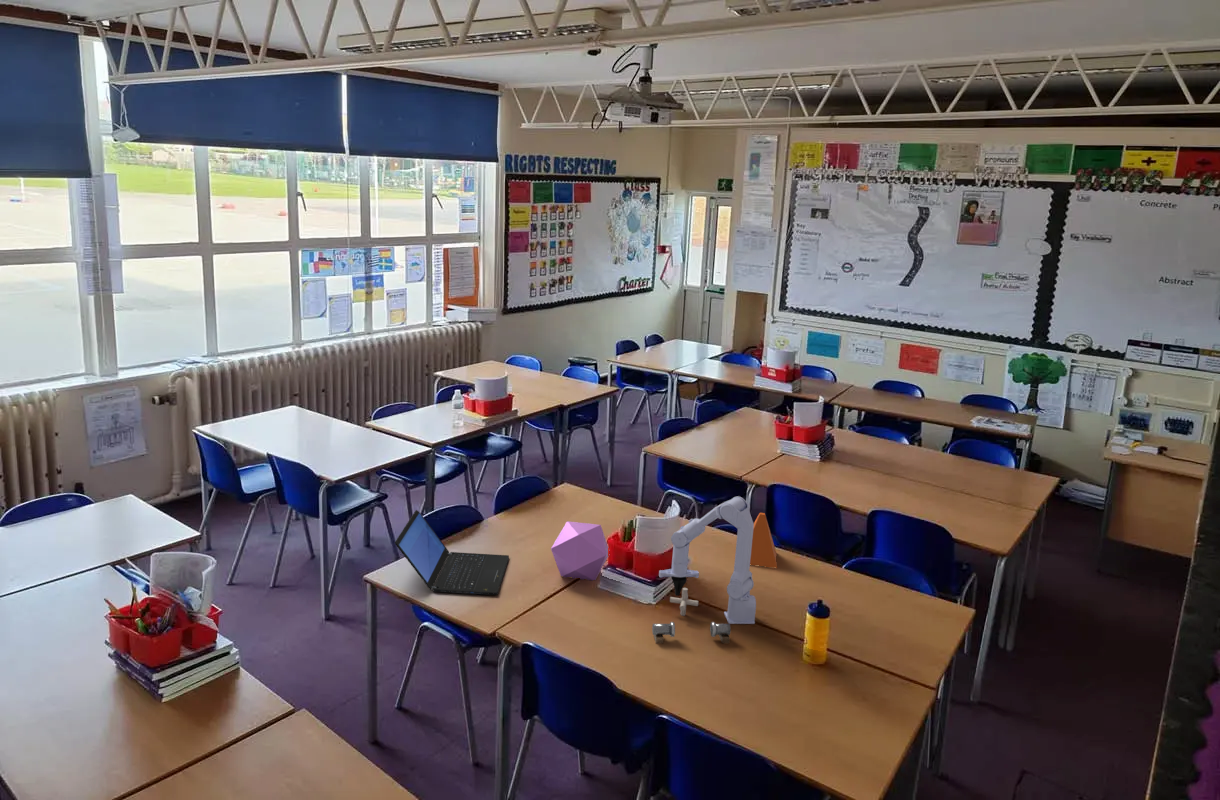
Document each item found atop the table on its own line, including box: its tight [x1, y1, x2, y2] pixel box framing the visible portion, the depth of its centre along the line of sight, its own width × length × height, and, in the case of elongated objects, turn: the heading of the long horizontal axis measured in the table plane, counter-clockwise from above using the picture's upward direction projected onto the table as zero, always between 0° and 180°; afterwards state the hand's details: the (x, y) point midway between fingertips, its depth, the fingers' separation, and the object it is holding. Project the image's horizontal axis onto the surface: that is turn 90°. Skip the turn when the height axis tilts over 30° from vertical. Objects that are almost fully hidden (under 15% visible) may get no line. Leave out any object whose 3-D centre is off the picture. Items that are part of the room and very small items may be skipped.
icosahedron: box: [550, 520, 609, 581], centre depth 327 cm, size 22×21×25 cm
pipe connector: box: [669, 587, 699, 617], centre depth 302 cm, size 10×10×10 cm
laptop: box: [394, 509, 510, 596], centre depth 322 cm, size 33×38×19 cm
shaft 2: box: [709, 621, 731, 644], centre depth 287 cm, size 6×5×6 cm
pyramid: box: [750, 512, 778, 569], centre depth 350 cm, size 16×16×20 cm
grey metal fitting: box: [651, 621, 676, 644], centre depth 285 cm, size 7×5×6 cm
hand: (677, 594), depth 315 cm, fingers closed
